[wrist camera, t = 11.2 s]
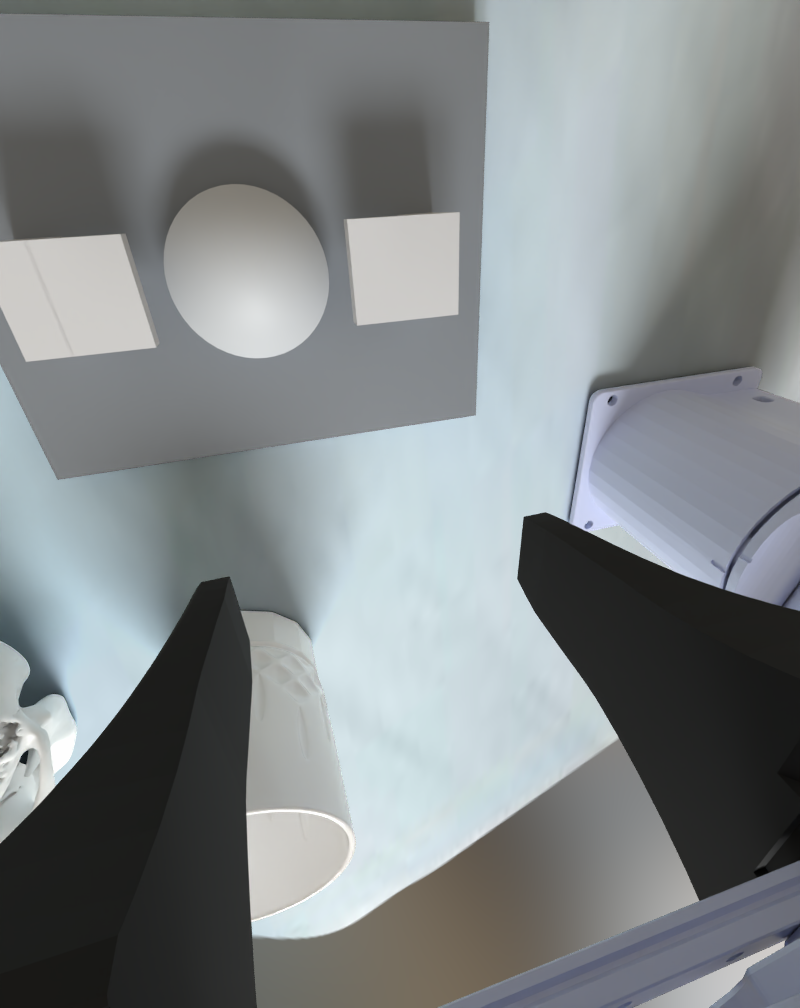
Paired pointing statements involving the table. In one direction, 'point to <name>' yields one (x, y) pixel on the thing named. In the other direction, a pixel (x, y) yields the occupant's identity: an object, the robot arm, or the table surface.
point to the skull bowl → (28, 742)
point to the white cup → (291, 773)
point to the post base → (237, 230)
